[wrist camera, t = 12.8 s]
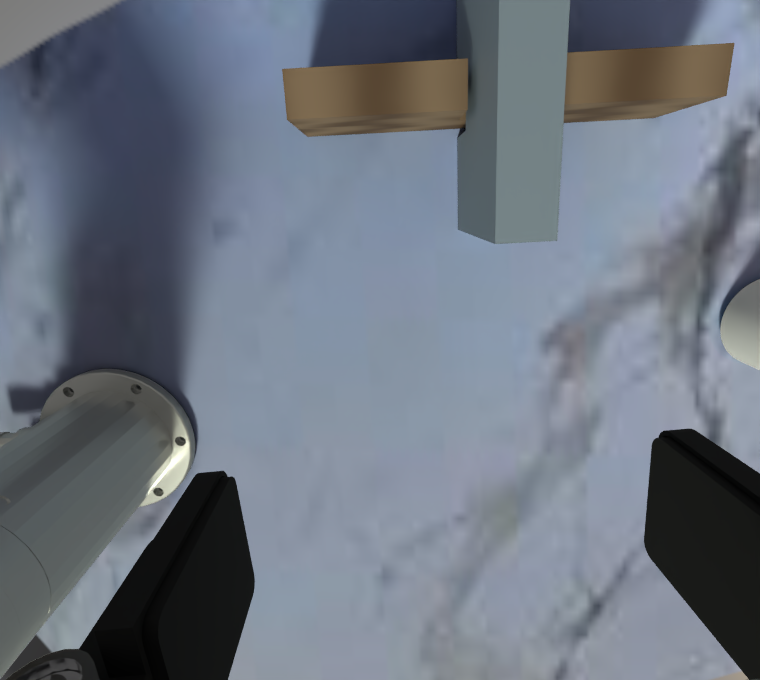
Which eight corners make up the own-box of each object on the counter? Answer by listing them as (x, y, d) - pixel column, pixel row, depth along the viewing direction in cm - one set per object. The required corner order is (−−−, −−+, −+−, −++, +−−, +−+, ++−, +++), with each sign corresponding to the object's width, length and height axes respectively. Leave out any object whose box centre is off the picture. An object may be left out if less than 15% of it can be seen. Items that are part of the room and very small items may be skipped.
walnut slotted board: (307, 136, 32) (287, 119, 26) (304, 97, 32) (282, 68, 25) (654, 117, 32) (726, 95, 25) (658, 77, 31) (734, 43, 24)
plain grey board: (456, -28, 29) (501, -175, 18) (503, -31, 29) (579, -181, 18) (458, 229, 34) (495, 243, 22) (498, 227, 34) (557, 240, 22)
